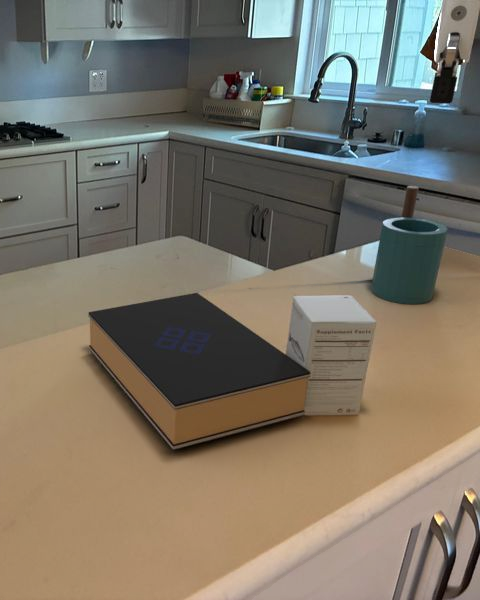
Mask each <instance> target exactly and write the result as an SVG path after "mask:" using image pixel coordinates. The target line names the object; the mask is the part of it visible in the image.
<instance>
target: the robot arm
mask: <svg viewBox="0 0 480 600" xmlns="http://www.w3.org/2000/svg"><path fill="white" fill-rule="evenodd" d="M479 16H480V0H442V3H441V7H440V14H439V19H438V26H437V32H436V38H435V46H434V47H435V49H434V62H435V63H436V64H438V65H437V70H436V72H434V77H433V83H432V87H431V93H430V97H429V103H430V104H452V102H453V101H454V96H455V90H456V85H457V83H458V82H457V81H458V76H457V73H458V69H459V64H460V60H462V62H463V64H467V63H469V62H470V58H471V53H472V47H473V44H474V39H475V35H476V31H477V27H478V26H477V24H478V20H479Z"/></svg>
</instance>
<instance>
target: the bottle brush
mask: <svg viewBox="0 0 480 600" xmlns="http://www.w3.org/2000/svg"><path fill="white" fill-rule="evenodd" d="M419 189H420V188H419V186H415V185H409V186H407V187H406V191H405V196H404V202H403V208H402V212H401V213H402V214H401V217H400V218H414V214H415V208H416V203H417V199H418V195H419V194H418V193H419Z"/></svg>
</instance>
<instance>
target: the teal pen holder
mask: <svg viewBox="0 0 480 600" xmlns="http://www.w3.org/2000/svg"><path fill="white" fill-rule="evenodd" d="M381 225H382V226H381V230H380V236H379V241H378V242H379V243H378V247H377V252H376V257H375V258H376V259H375V263H374V270H373V274H372V280H371V287H370V291H371V293H372V294H373V295H375V296H376V297H378V298H380V299H382V300H386V301H388V302H392V303H396V304H403V305H422V304H426V303H429V302H430V301H432V299H433V296H434V294H435V293H434V292H435V288H436V283H437V279H438V275H439V270H440V266H441V261H442V257H443V252H444V249H445V243H446V239H447V235H448V231H449V230H448V229H449V228H448V227H447V226H446V225H445V224H442V223H440V222H438V221H434V220H430V219H424V218H417V217H413V218H401V217H393V218H387V219H384V220H383V221H382V224H381Z"/></svg>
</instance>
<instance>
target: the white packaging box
mask: <svg viewBox="0 0 480 600" xmlns="http://www.w3.org/2000/svg"><path fill="white" fill-rule="evenodd" d="M376 327H377V321H376V319H375V318H373V316H372V315H371V314H370V313H369V312H368V311H367V310H366V309H365V308H364V306H362V305H361V304H360V303H359V302H358V301H357V299H355V298H354V296H353V295H350V294H349V295H347V294H340V295H339V294H336V295H335V294H334V295H331V294H329V295H294V296H293V297H292V304H291V312H290V321H289V327H288V336H287V343H286V350H285V354H286V355H287V356H288V357H290V358H291V359H293V360H294V361H296V362H297V363H298V364H300V365H301V366H303V367H304V368H306V369H307V370H308V371H310V373H311V374H310V377H308V383H307V390H306V397H305V404H304V411H305V413H304V415H303V416H357V415H358V416H359V414H360V410H361V404H362V399H363V393H364V387H365V383H366V378H367V373H368V368H369V362H370V357H371V353H372V347H373V344H374V337H375V333H376V332H375V331H376Z"/></svg>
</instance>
